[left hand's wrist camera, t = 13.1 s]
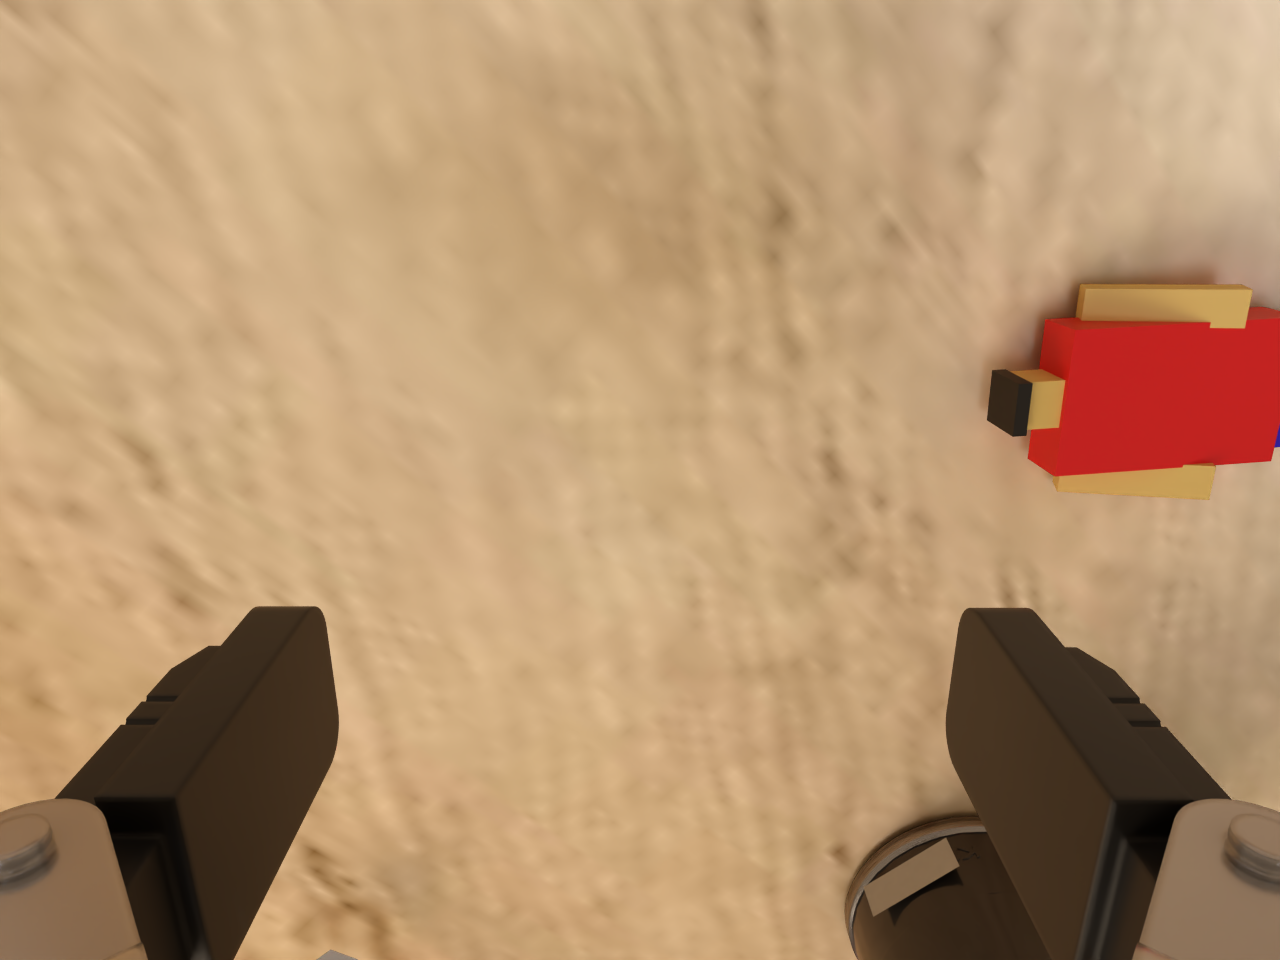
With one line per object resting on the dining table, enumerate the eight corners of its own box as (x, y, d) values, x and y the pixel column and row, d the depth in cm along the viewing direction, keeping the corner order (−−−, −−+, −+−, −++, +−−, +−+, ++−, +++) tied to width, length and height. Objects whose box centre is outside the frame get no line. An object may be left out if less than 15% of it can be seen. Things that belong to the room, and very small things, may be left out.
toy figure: (1410, 280, 27) (1032, 302, 26) (1354, 489, 30) (1007, 515, 29) (1343, 269, 30) (994, 288, 29) (1296, 463, 32) (973, 487, 31)
